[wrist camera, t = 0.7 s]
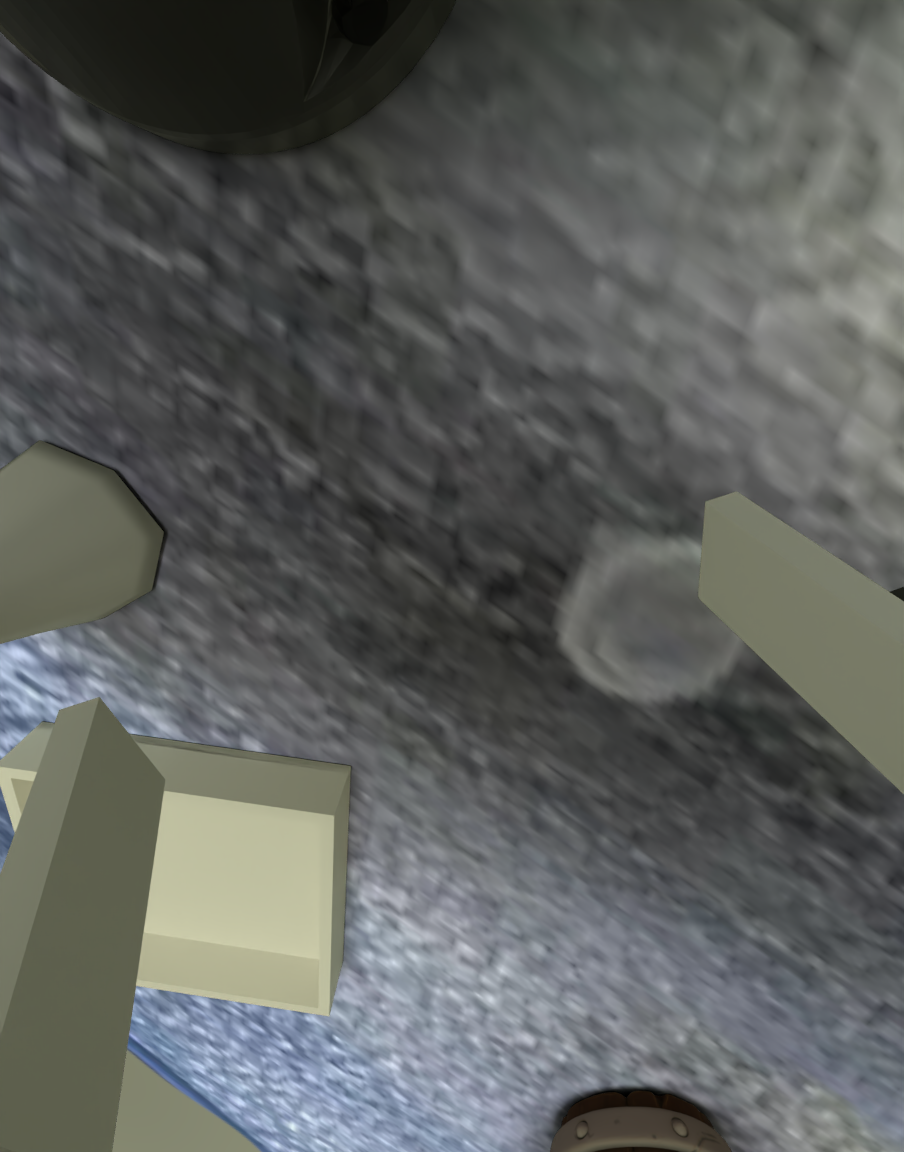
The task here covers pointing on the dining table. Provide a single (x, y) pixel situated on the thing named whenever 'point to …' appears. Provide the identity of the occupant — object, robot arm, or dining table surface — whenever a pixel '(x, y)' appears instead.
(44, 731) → the box
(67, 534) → the flask
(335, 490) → the dining table surface
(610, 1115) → the flowerpot
